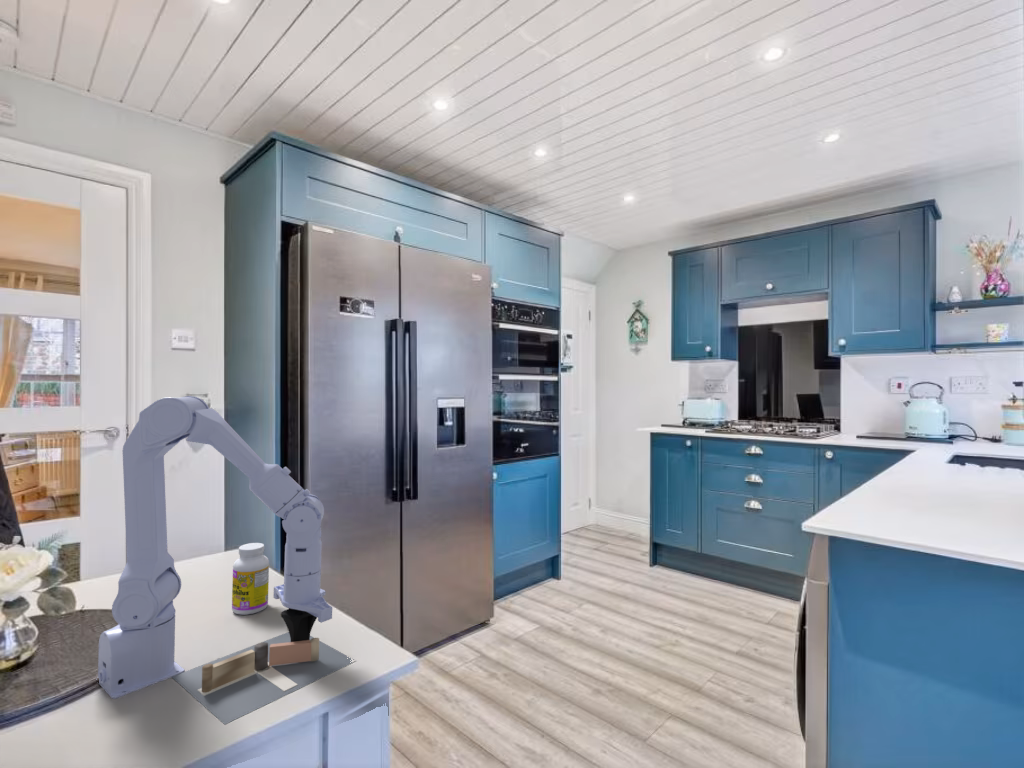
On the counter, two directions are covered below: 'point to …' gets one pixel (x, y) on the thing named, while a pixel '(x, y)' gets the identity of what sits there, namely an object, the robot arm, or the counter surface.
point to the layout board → (260, 681)
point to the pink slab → (294, 652)
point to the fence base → (234, 667)
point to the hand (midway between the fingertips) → (300, 651)
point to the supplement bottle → (250, 580)
